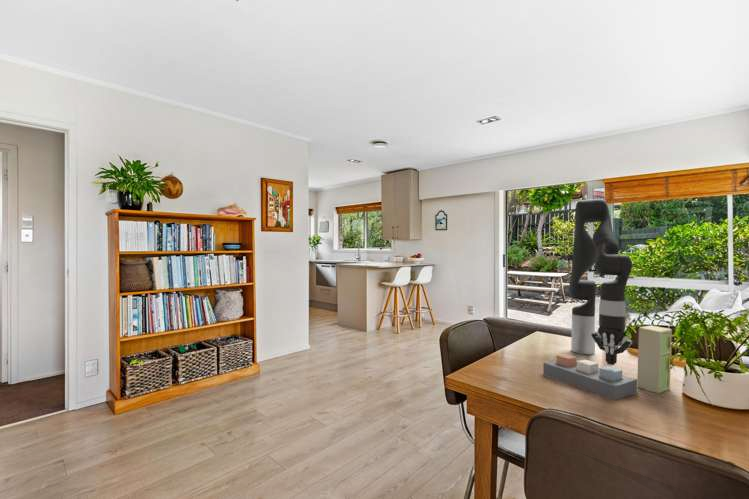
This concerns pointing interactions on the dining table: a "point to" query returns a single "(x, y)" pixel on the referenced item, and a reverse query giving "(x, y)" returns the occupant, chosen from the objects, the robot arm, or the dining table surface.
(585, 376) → the console
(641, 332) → the toy refrigerator
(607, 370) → the blue key
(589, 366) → the ivory key
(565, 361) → the terracotta key
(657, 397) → the dining table surface
